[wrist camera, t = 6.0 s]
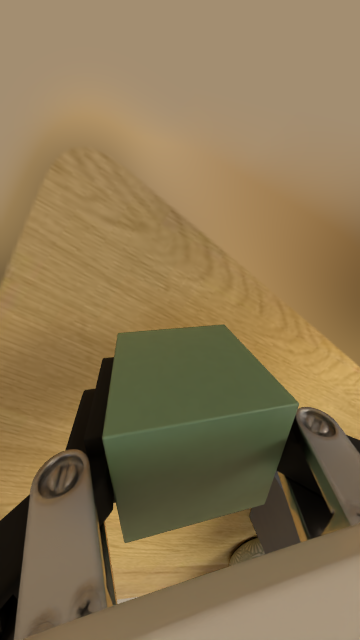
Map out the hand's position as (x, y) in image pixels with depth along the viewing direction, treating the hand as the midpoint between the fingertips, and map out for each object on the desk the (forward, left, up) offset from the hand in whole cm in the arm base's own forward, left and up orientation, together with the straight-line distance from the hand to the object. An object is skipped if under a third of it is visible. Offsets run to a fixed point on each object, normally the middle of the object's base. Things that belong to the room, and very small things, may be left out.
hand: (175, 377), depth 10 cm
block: (0, 0, 0) cm, 0 cm away
